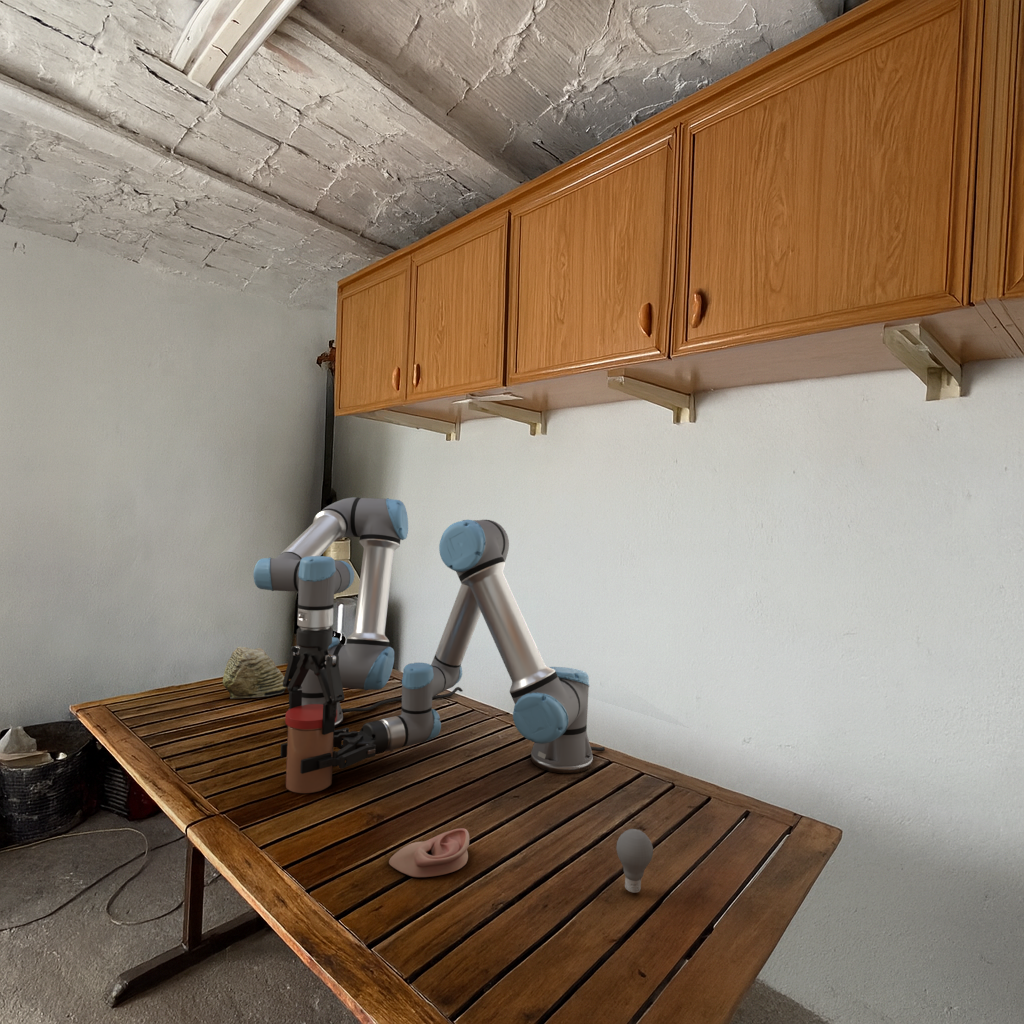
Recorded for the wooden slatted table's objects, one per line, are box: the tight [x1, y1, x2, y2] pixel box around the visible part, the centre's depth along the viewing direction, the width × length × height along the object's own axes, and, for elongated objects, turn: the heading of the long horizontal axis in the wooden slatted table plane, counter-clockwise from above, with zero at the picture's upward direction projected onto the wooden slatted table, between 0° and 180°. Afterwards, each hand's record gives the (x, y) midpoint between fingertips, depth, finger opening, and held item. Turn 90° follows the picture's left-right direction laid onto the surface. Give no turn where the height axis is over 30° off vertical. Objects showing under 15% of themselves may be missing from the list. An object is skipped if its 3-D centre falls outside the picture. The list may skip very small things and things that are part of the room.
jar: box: [285, 726, 334, 794], centre depth 140 cm, size 10×10×15 cm
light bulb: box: [615, 828, 654, 894], centre depth 106 cm, size 6×6×10 cm
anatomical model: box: [388, 827, 470, 878], centre depth 112 cm, size 13×4×12 cm
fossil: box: [222, 646, 287, 699], centre depth 198 cm, size 9×18×15 cm, turn 132°
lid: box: [284, 704, 337, 729], centre depth 140 cm, size 11×11×2 cm
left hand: (311, 726), depth 140 cm, fingers closed on lid, 11 cm apart
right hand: (291, 758), depth 137 cm, fingers closed on jar, 10 cm apart
